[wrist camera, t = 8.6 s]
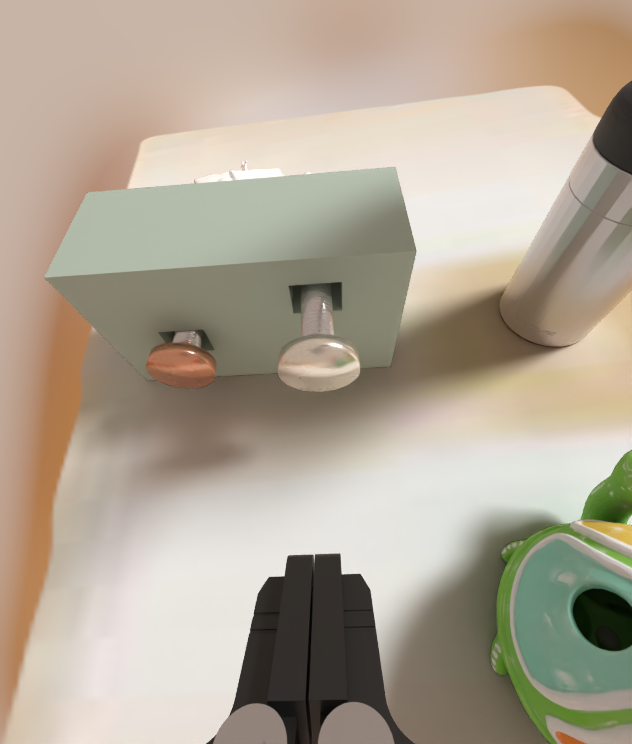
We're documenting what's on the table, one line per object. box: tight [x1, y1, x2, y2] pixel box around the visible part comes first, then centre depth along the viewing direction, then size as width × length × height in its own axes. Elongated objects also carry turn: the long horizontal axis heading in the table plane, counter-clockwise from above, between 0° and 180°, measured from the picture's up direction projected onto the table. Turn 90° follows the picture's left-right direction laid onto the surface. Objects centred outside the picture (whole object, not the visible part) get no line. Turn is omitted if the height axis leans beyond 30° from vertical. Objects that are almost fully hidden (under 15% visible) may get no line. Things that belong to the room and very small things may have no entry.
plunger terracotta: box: [146, 329, 217, 388], centre depth 33 cm, size 13×6×6 cm, turn 1°
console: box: [44, 167, 416, 381], centre depth 33 cm, size 10×26×15 cm, turn 92°
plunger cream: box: [278, 283, 360, 392], centre depth 27 cm, size 13×6×6 cm, turn 2°
